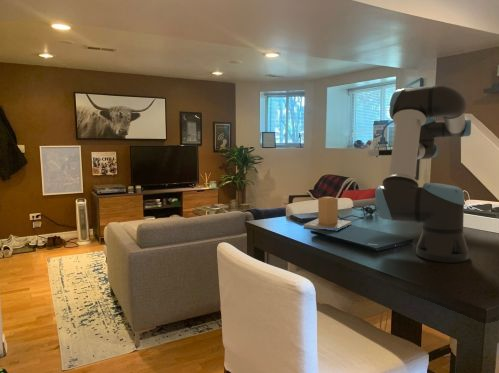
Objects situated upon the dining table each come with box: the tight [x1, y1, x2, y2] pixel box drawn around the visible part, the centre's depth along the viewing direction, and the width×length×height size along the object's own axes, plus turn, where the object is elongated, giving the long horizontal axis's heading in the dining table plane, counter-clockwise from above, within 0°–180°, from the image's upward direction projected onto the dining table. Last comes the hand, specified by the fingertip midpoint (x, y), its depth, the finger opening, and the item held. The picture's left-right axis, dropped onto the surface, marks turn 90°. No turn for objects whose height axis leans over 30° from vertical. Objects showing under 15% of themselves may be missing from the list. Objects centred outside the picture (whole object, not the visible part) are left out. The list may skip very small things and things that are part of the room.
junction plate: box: [303, 218, 352, 230], centre depth 165 cm, size 16×16×4 cm
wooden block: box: [317, 196, 339, 225], centre depth 165 cm, size 6×6×12 cm
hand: (380, 153), depth 159 cm, fingers open, 13 cm apart
